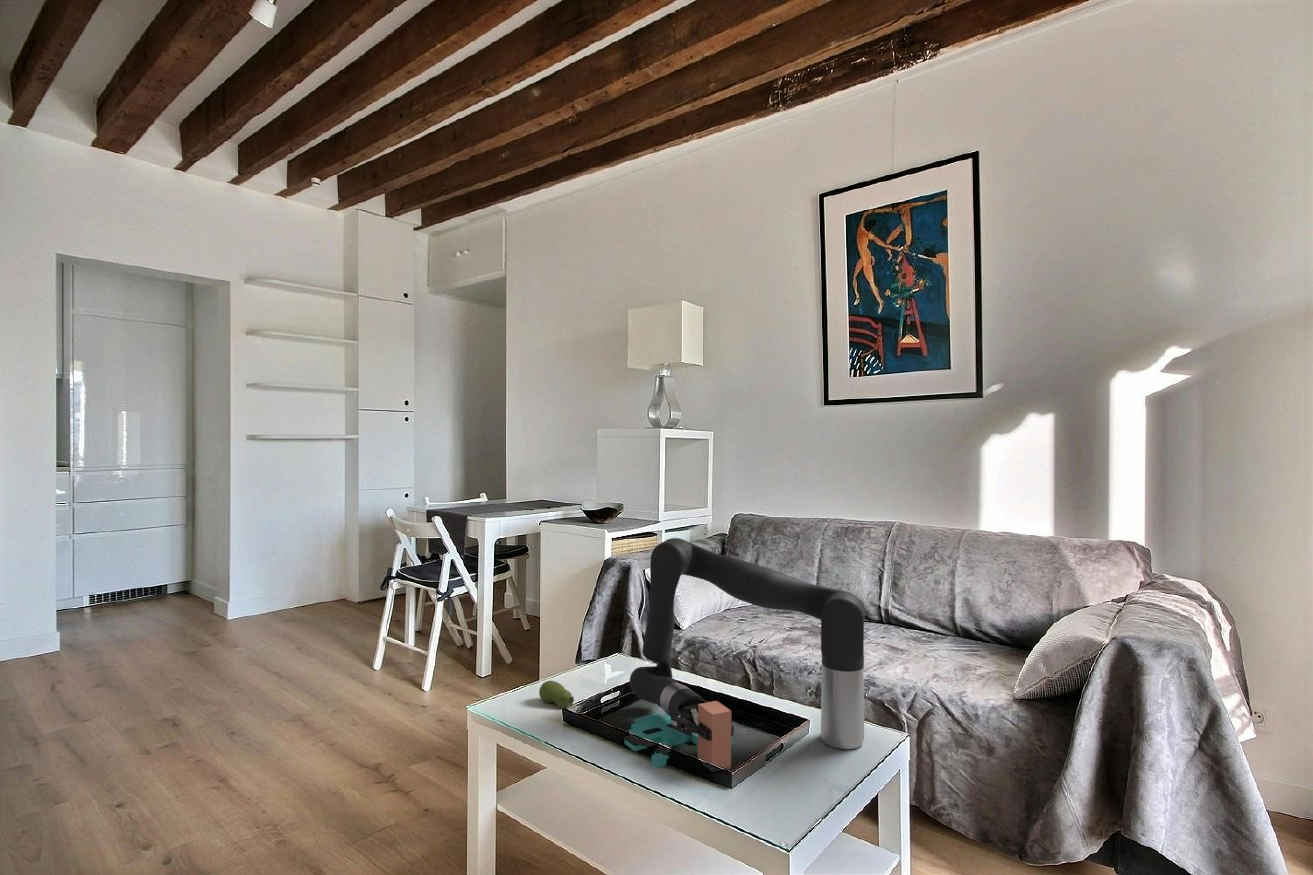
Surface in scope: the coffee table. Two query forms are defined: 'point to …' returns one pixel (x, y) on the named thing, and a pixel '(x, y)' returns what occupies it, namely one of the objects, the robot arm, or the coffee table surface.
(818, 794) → the coffee table surface
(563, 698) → the pear
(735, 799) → the coffee table surface
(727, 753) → the block
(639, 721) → the alien figure
